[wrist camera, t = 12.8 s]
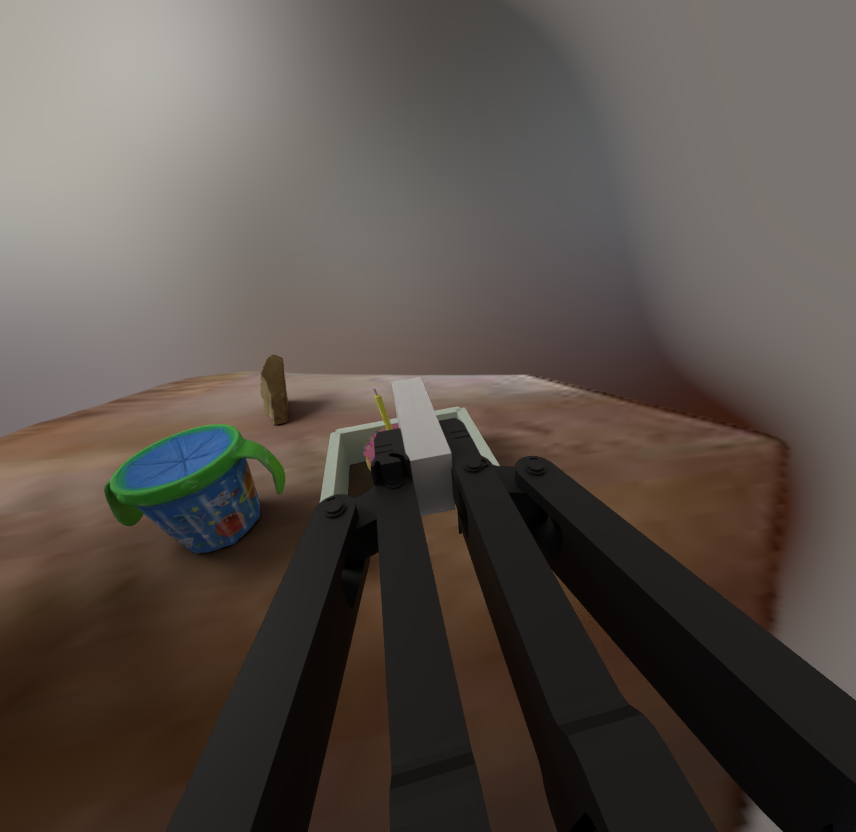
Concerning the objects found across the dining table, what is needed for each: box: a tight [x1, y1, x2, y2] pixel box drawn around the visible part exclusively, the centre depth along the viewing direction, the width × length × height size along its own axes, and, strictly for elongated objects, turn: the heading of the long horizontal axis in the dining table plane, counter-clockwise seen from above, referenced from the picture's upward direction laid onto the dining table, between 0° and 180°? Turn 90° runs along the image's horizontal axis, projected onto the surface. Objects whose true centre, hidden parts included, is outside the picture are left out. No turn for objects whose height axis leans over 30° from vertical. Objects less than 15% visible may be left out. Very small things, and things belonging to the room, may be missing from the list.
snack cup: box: [104, 424, 285, 554], centre depth 32 cm, size 16×10×10 cm
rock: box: [261, 355, 288, 425], centre depth 56 cm, size 11×9×10 cm
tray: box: [320, 407, 500, 502], centre depth 35 cm, size 17×17×5 cm
